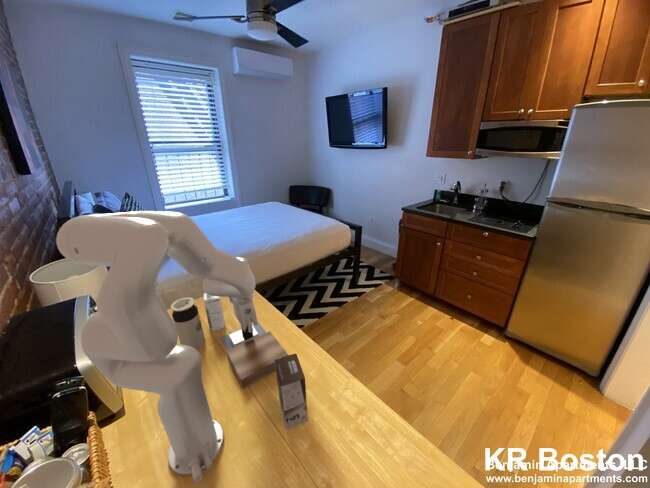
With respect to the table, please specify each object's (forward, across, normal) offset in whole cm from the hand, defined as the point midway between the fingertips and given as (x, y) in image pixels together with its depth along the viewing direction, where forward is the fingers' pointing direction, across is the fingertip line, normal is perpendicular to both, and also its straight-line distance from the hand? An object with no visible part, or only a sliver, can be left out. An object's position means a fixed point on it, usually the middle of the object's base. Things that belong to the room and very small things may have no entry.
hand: (248, 337), depth 96 cm
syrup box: (+5, +19, +6) cm, 21 cm away
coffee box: (+5, -30, -1) cm, 30 cm away
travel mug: (+5, +14, +16) cm, 22 cm away
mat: (+5, +5, 0) cm, 7 cm away
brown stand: (+5, -8, 0) cm, 9 cm away
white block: (+2, +5, 0) cm, 6 cm away
